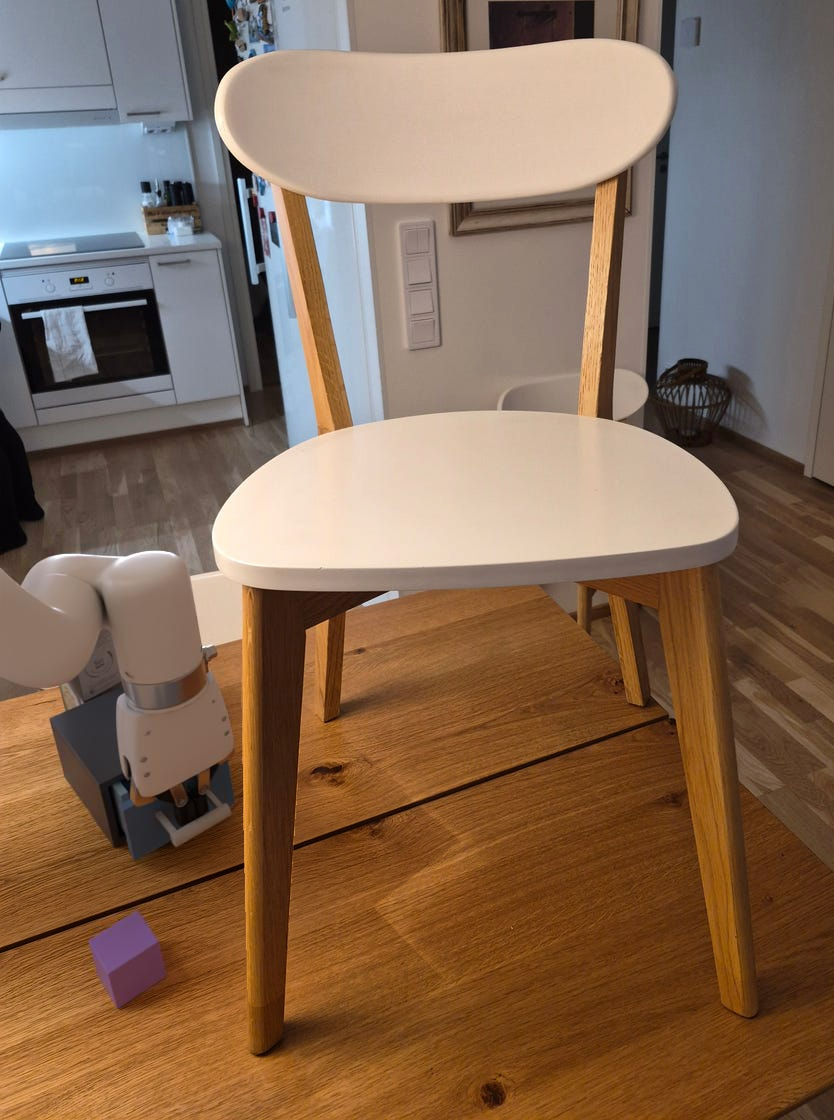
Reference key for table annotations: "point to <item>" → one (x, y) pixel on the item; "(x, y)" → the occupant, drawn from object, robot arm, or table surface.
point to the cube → (127, 958)
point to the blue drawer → (168, 815)
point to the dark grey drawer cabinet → (92, 757)
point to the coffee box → (94, 675)
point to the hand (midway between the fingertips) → (193, 822)
